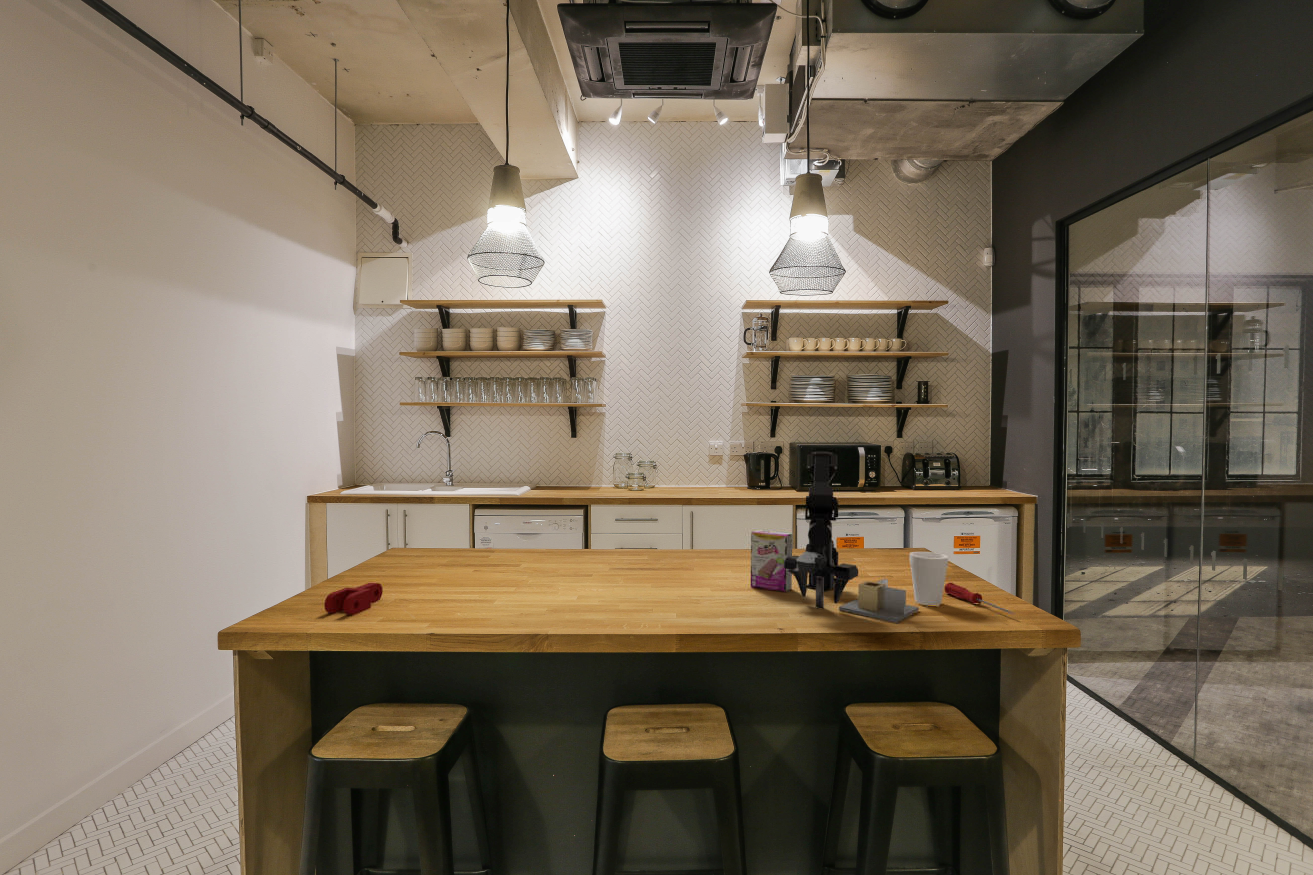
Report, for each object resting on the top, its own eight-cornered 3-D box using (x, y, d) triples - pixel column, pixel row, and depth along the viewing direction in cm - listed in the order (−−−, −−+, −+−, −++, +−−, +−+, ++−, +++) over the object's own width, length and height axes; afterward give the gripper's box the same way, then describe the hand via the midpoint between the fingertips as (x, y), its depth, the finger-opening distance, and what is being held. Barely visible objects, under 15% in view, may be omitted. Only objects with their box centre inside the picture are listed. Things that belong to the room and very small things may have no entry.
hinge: (858, 607, 164) (858, 584, 164) (876, 599, 172) (877, 577, 172) (900, 616, 157) (901, 592, 157) (918, 607, 165) (918, 584, 165)
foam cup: (906, 605, 171) (907, 556, 170) (910, 597, 179) (911, 550, 179) (946, 610, 166) (946, 560, 166) (948, 601, 174) (949, 553, 174)
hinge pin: (814, 607, 168) (814, 577, 168) (817, 605, 169) (818, 575, 169) (821, 609, 166) (821, 578, 166) (824, 607, 168) (825, 576, 168)
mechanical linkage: (349, 617, 157) (349, 597, 157) (324, 615, 159) (324, 595, 159) (390, 600, 173) (390, 581, 172) (367, 598, 174) (367, 580, 174)
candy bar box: (749, 587, 188) (750, 531, 188) (756, 583, 192) (757, 529, 192) (786, 593, 182) (786, 535, 182) (792, 589, 186) (793, 532, 186)
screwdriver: (1007, 621, 158) (1007, 606, 158) (942, 594, 182) (943, 582, 182) (1019, 620, 159) (1019, 606, 158) (953, 593, 183) (954, 581, 183)
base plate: (839, 610, 165) (839, 606, 165) (863, 599, 175) (863, 596, 175) (896, 623, 155) (896, 618, 155) (918, 611, 165) (918, 607, 165)
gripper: (772, 539, 168) (772, 599, 168) (838, 549, 155) (838, 613, 156) (795, 534, 176) (794, 591, 176) (859, 543, 163) (858, 604, 164)
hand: (819, 599), depth 168 cm, fingers open, 9 cm apart
